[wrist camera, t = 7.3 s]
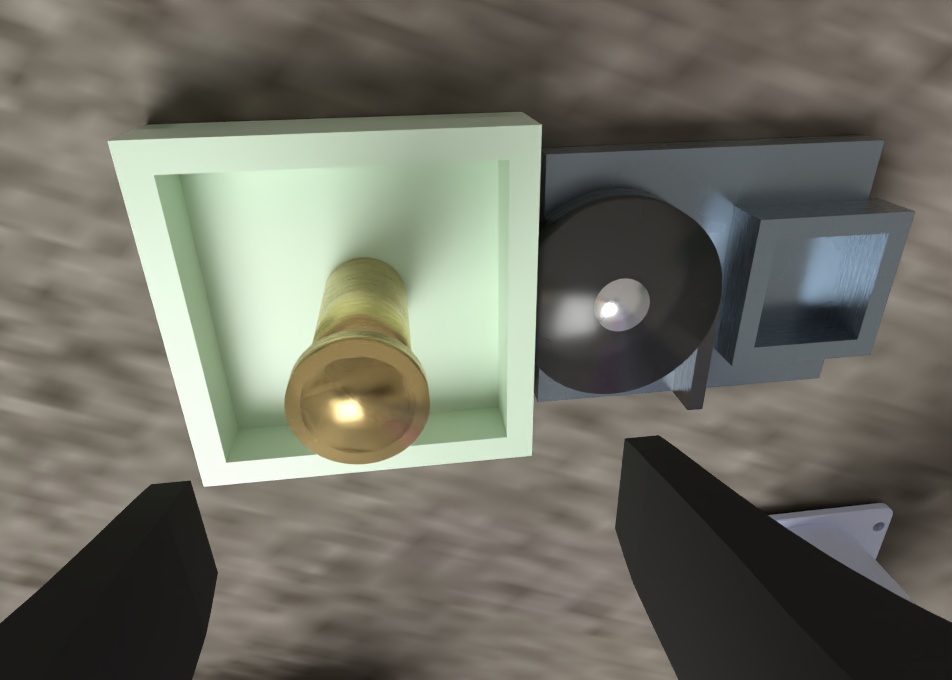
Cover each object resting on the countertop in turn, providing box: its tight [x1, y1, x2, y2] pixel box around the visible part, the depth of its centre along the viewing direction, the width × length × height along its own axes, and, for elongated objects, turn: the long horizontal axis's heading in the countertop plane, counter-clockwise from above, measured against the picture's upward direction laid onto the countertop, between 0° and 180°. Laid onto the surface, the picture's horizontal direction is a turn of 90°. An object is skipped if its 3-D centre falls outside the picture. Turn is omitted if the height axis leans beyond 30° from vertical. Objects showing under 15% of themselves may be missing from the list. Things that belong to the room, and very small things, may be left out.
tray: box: [108, 112, 542, 487], centre depth 18 cm, size 10×10×2 cm
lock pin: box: [284, 257, 430, 465], centre depth 16 cm, size 3×3×6 cm
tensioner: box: [534, 135, 915, 410], centre depth 19 cm, size 8×12×2 cm
